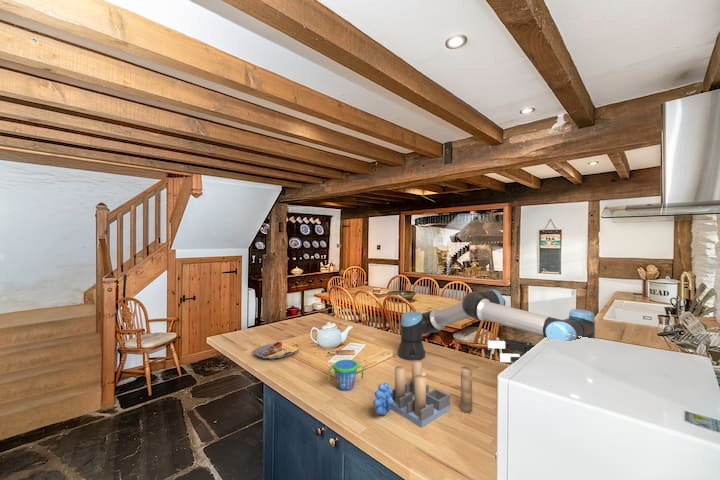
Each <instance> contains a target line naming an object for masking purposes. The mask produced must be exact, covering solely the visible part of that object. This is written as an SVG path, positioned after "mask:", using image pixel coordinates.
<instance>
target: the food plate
mask: <svg viewBox="0 0 720 480" xmlns="http://www.w3.org/2000/svg"><path fill="white" fill-rule="evenodd" d="M292 346H294V347H299V345H298V344H295V345H292ZM294 353H296V352H294ZM294 353H293V352H291V351H290V350H287V349H284V348H282V341H277V342H273V343H268V344H265V345H262V346H260V347H257V348H255V349H254V350H253V354H254V355H255V356H256V357H259V358H263V359H270V360H271V359H272V360H274V359H278V358H284V357H288V356H291V355H292V354H294Z"/></svg>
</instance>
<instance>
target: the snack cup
mask: <svg viewBox="0 0 720 480" xmlns="http://www.w3.org/2000/svg"><path fill="white" fill-rule="evenodd" d="M358 368H359V369H361V380H363V378H364V369H363V366H362V365H361V364H359V363H358V362H357V361H356V360H352V359H341V360H337V361H335V362H334V363H333V365H331V366H330V367H329V369H328V371H327V378H328V381H329V382H330V381H331V378H330V371H332V370H334V375H335V381H336V386H337V388H338V389H339V390H341V391H351V390H352V389H354V388H355V384H356V378H357V377H356V376H357V371H358Z"/></svg>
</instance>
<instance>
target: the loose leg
mask: <svg viewBox="0 0 720 480" xmlns="http://www.w3.org/2000/svg"><path fill="white" fill-rule="evenodd" d="M460 411H461V413H463V412H464V413H463V414H465V413H471V412H472V413H473V368H471V367H469V366H461V367H460ZM472 413H471V414H472Z"/></svg>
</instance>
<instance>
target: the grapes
mask: <svg viewBox="0 0 720 480" xmlns="http://www.w3.org/2000/svg"><path fill="white" fill-rule="evenodd" d="M377 388H378V389H377V390H375V392H374V397H375V399H374V400H373V405H374V407H375V409H374V411H375V412H376V414H377V415H380V416H382V417H383V416H386V414H387V413H388V412H389V411H390V409H391V407H390V405H392V404H393V403H394V402H393V399H392V397H391V394H392V393H393V392H392V390H393V389H392V388H391V387H390V384H389V383H388V382H384V383H380V384H379V385H378V386H377Z"/></svg>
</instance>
